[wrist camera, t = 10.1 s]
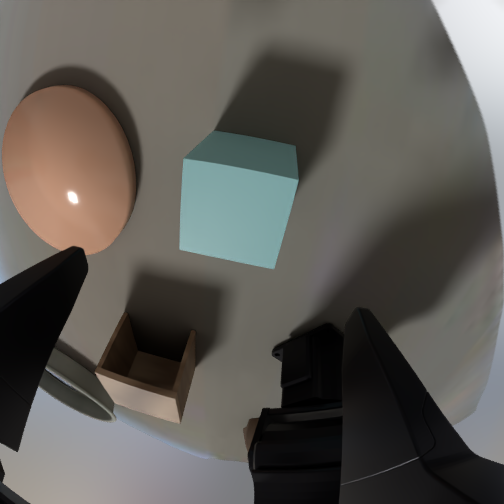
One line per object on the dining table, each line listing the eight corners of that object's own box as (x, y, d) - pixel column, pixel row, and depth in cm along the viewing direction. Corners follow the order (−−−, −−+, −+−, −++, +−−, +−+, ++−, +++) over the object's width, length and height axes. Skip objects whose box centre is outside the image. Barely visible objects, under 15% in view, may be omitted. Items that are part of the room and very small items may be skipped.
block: (295, 145, 14) (298, 180, 10) (278, 215, 17) (273, 269, 13) (214, 130, 14) (183, 158, 10) (206, 200, 17) (179, 249, 13)
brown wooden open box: (195, 331, 25) (175, 399, 19) (195, 367, 29) (180, 423, 23) (124, 312, 25) (94, 372, 19) (135, 351, 29) (114, 402, 23)
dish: (174, 162, 15) (166, 170, 14) (95, 271, 22) (88, 280, 21) (44, 53, 11) (32, 55, 10) (2, 183, 17) (-7, 189, 16)
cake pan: (0, 310, 33) (-13, 328, 29) (113, 371, 35) (103, 396, 31) (39, 372, 47) (32, 386, 44) (128, 415, 49) (123, 432, 46)
